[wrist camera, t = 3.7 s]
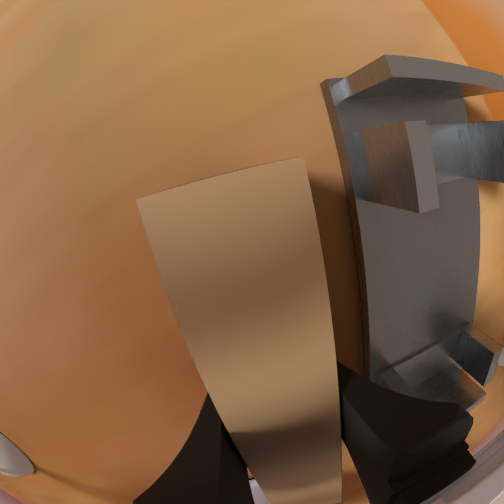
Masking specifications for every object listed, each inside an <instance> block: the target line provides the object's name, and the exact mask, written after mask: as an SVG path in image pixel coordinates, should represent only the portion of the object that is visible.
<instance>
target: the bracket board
mask: <svg viewBox="0 0 504 504" xmlns="http://www.w3.org/2000/svg"><path fill="white" fill-rule="evenodd" d="M320 86H321V89H322V92H323V96H324V99H325V103H326V107H327V110H328V114H329V118H330V122H331V126H332V130H333V134H334V138H335V142H336V146H337V150H338V155H339V159H340V164H341V169H342V174H343V179H344V184H345V189H346V194H347V200H348V205H349V211H350V217H351V224H352V230H353V237H354V244H355V252H356V259H357V268H358V277H359V287H360V297H361V310H362V324H363V343H364V378H366V379H368V380H370V381H372V382H374V383H376V384H378V385H380V386H382V387H385V388H387V389H389V390H392V391H395V392H398V393H401V394H404V395H408V396H411V397H415V398H419V399H425V400H430V401H438V402H450V403H458V404H459V405H460V406H462V407H463V408H464V409H465V410H466V411H467V412H470V411H471V410H472V409H474V408H475V407H476V406H477V405H479V404H480V403H481V402H482V401H484V399H485V396H486V394H487V393H486V392H485V391H483V390H482V389H481V388H480V387H479V386H478V385H477V384H476V383H475V382H474V381H473V380H471V379H470V378H469V377H468V376H467V375H466V374H465V373H464V372H463V371H462V368H463V369H464V370H465V371H467V372H468V373H469V374H470V375H471V376H472V377H473V378H474V379H476V380H477V381H478V382H479V383H480V384H481V385H482V386H483V387H484V386H485V385H486V384H487V383H488V382H490V381H491V380H492V378H493V376H494V373H495V370H496V367H497V364H498V361H499V358H500V355H501V351H502V348H503V346H502V345H500V344H499V343H497V342H496V341H495V340H493V339H492V338H490V337H489V336H488V335H486V334H485V333H483V332H482V331H480V330H479V329H478V328H476V327H475V326H473V325H472V321H473V315H474V309H475V301H476V293H477V284H478V272H479V256H480V205H479V189H478V179H482V180H489V181H496V182H503V183H504V121H485V122H471V123H469V120H468V115H467V111H466V107H465V103H464V99H463V97H469V96H476V95H482V94H489V93H496V92H504V79H503V76H501V75H498V74H495V73H491V72H488V71H484V70H480V69H476V68H472V67H468V66H463V65H459V64H454V63H448V62H443V61H437V60H431V59H424V58H416V57H407V56H396V55H383V56H382V57H380V58H378V59H376V60H375V61H373V62H371V63H369V64H368V65H366V66H364V67H363V68H361V69H359V70H358V71H356V72H354V73H353V74H351V75H349V76H348V77H346V78H334V79H326V80H325V81H323V82H322V83H321V84H320Z"/></svg>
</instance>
